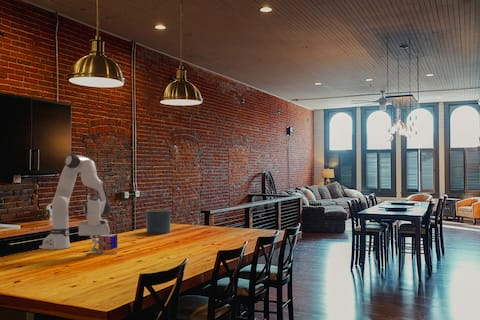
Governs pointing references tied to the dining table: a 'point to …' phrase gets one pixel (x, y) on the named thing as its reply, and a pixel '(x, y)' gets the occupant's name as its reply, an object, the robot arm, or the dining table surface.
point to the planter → (158, 221)
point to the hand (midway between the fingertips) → (94, 241)
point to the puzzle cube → (108, 241)
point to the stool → (100, 244)
